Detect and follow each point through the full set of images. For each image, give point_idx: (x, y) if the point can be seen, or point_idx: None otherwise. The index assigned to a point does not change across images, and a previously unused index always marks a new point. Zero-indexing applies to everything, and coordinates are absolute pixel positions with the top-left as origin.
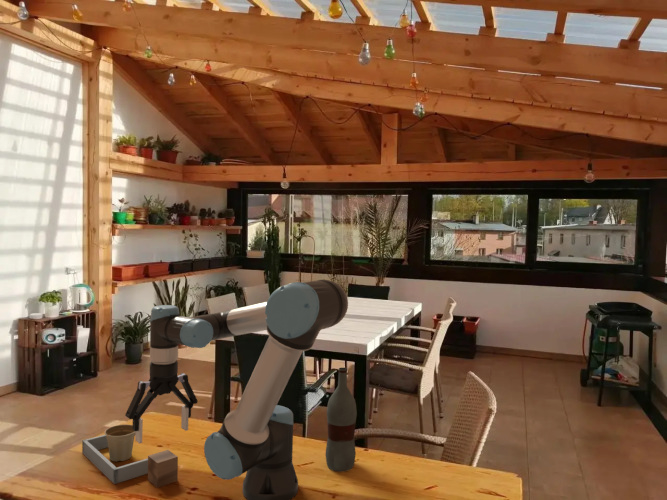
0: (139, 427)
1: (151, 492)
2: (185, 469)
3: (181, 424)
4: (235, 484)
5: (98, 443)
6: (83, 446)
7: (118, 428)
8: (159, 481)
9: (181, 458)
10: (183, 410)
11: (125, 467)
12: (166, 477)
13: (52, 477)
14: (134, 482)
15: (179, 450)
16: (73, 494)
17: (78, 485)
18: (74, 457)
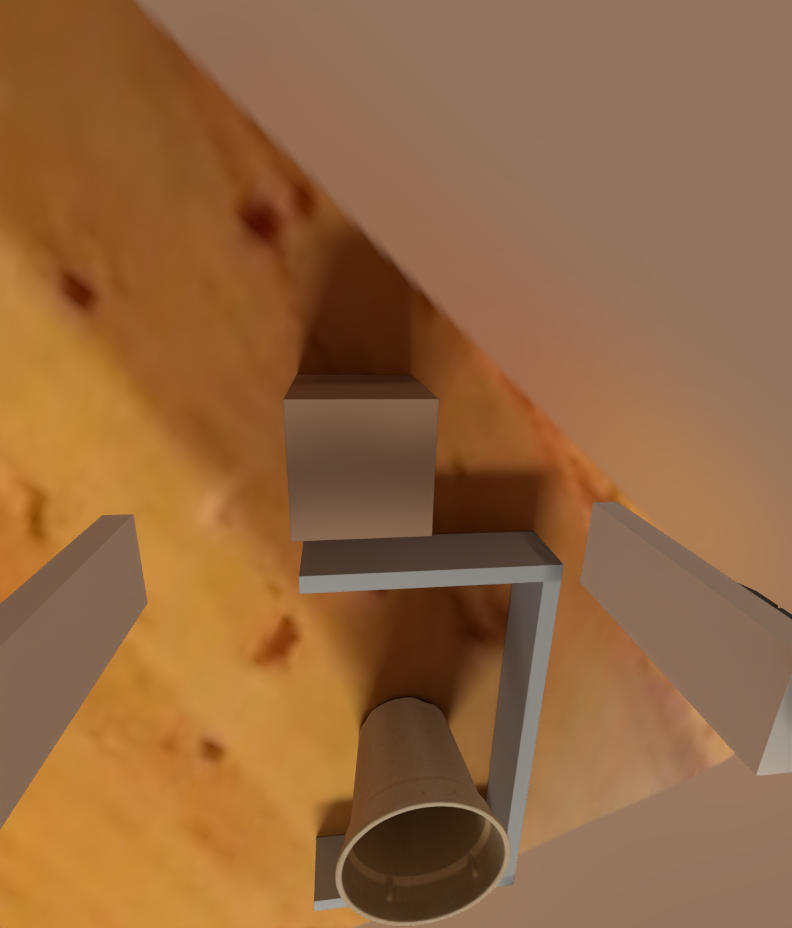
0: (734, 588)
1: (453, 350)
2: (207, 462)
3: (131, 624)
4: (4, 62)
5: None
6: None
7: (404, 900)
8: (403, 379)
9: (174, 583)
10: (7, 744)
11: (506, 565)
12: (363, 381)
13: (655, 706)
14: (464, 493)
15: (148, 664)
16: None
17: None
18: (531, 806)
